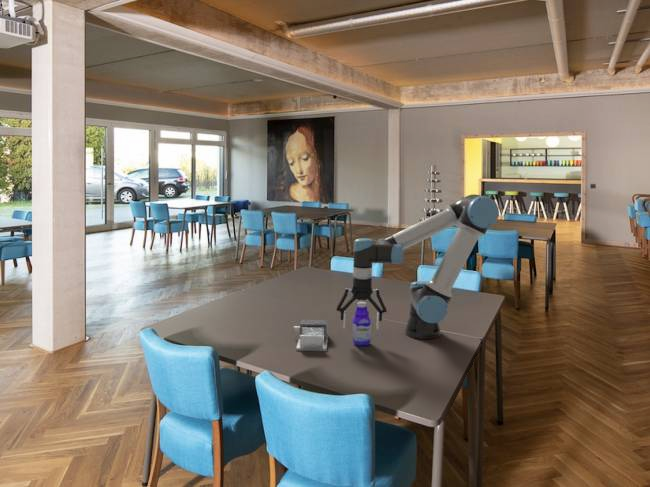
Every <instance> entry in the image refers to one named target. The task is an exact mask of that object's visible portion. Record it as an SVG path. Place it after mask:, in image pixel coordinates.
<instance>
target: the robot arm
mask: <svg viewBox="0 0 650 487" xmlns="http://www.w3.org/2000/svg"><path fill="white" fill-rule="evenodd" d="M499 214H500V211H499V206H498V204H497V202H496V201H495V200H494V199H492V198H491V197H489V196H486V195H480V194H469V195H466V196H464V197H462V198H460V199H459V200H457V201H455V202H453V203H450V204H449V205H447V207H446V209H444V210H442V211H440V212H438V213H436V214H434V215H432V216H430V217H428V218H426V219H423V220H422V221H418V222H416V223H414V224H413V225H411V226H408V227H406V228H404V229H403V230H400V231H399V232H397V233H394V234H393V235H390V236H388V237H383V238H379V239H378V240H377V241H376V243H374V241H373V239H372V238H364V237H363V238H362V237H361V238H357V239H355V240H354V243H353V267H352V268H353V269H352V270H353V271H352V272H353V273H352V276H353V278H352V288H348V287H345V289H344V293H343V295H342V297H341V299H340V301H339V302H338V304H337V306H336V311H337V312H340V320H341V321H342V322H343V324H342V325H343V326H342V328H343V329H346V310H347V309H348V308H349V307H350V306H351V305H352V304H353V302H355V301H356V300H358V301H367V300H368V301H369V303H370V304H371V305H372V306H373V307H374V309H375V310H376V311H377V312H376V330H379V329H380V322H382V321H383V314H384V313H387V311H388V310H387V308H386V305H385V303H384V301H383V299H382V297H381V295H380V289H379V288H374V289H372V285H373V284H372V283H373V282H372V281H373V279H372V277H373V264H392V265H395V264H402V262H403V260H404V250H406V249H408V248H409V247H412V246H414V245H416V244H418V243H420V242H422V241H425V240H426V239H428V238H431V237H434V236H435V235H437V234H439V233H441V232H444V231H445V230H447V229H450V228H452V227H454V226H456V227H457V229H456V232H455V234H454V235H453V237H452V239H451V241H450V243H449V245H448V247H447V249H446V251H445V252H444V255H443V257H442V258H441V261H440V262H439V264H438V266H437V268H436V270H435V272H434V274H433V276H432V277H431V280H429V281H425V280H424V281H423V280H420V281H419V280H417V281H412V282H411V283H410V287H409V291H410V292H409V293H410V294H409V315H408V319H407V321H406V324H405V326H404V333H405V335H407V336H408V337H410V338H414V339H419V340H420V339H421V340H432V339H437V338H439V337H440V336H441V326H440V324H439V322H441V321H443V320H444V319H445V318H446V317H447V315H448V312H449V311H448V310H449V306H448V304H449V303H450V301H451V299H452V297H453V294H452V292H451V291H452V289H453V287H454V285H455V283H456V281H457V280H458V277H459V275H460V274H461V272H462V270H463V268H464V265H465V263H466V262H467V260H468V258H469V257H470V255H471V253H472V251H473V249H474V247H475V245H476V243H477V241H478V240H479V238H480V237H483V236H485V235H486V232H487V230H489V227H492V226H493V225H494V224H495V223H497V220H498V218H499ZM350 293H352V296H351V298H349V300H348V301H346V299H347V297H348V295H349V294H350ZM372 294H374V295H376V298H377V299H378V302H379V304H380V306H381V307H380V306H379V305H378V303H377V302H376V301H375V300H374V299H373V297H372V296H371V295H372ZM345 301H346V303H344V302H345Z"/></svg>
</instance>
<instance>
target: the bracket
mask: <svg viewBox="0 0 650 487" xmlns="http://www.w3.org/2000/svg"><path fill="white" fill-rule="evenodd" d="M299 336H300V338H299V337H298V340H297V344H296V348H295V351H299V352H300V351H305V352H306V351H307V352H308V351H309V352H311V351H312V352H327V350H328V349H327V348H328V340H329V338H328V339H324V327H302V335H300V334H299Z"/></svg>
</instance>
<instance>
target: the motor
mask: <svg viewBox="0 0 650 487" xmlns="http://www.w3.org/2000/svg"><path fill="white" fill-rule="evenodd" d="M302 327H324V339H328V340H329V333H328V320H327V319H301V320H300V323H299V325H294V326H293V332H299V336H298V339H299V338H300V335H302Z"/></svg>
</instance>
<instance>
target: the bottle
mask: <svg viewBox="0 0 650 487" xmlns="http://www.w3.org/2000/svg"><path fill="white" fill-rule="evenodd" d="M371 324H372V322H371V319H370V316H369V310H368V304H367V302H366V301H357V302H356V309H355V311H354V317H353V320H352V343H353V344H354V345H355V346H357V347H358V346H359V347H361V346H362V347H363V346H368V345H370V344H371V341H372V340H371V339H372V337H371V336H372V334H371V332H372V325H371Z"/></svg>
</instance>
